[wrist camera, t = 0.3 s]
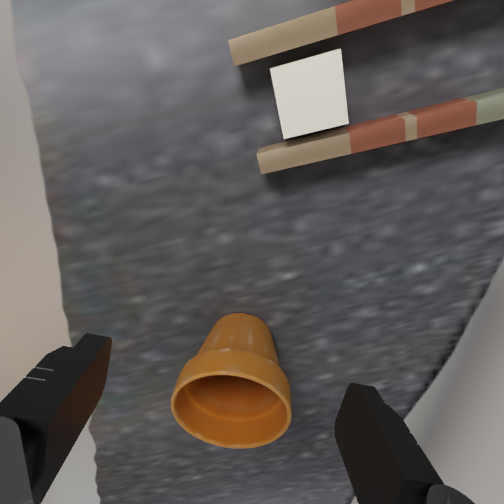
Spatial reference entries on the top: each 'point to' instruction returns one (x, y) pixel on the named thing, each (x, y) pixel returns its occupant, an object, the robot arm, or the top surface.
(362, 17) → the channel
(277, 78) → the ivory block
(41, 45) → the top surface
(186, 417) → the flower pot
